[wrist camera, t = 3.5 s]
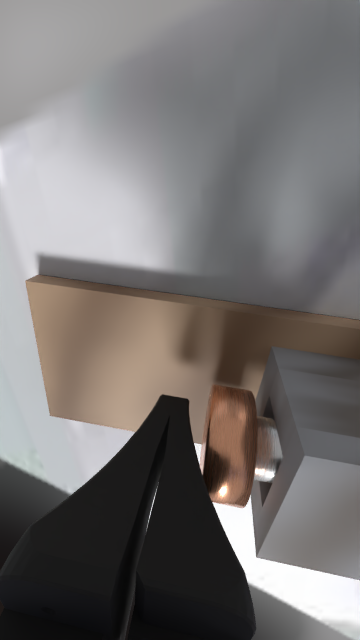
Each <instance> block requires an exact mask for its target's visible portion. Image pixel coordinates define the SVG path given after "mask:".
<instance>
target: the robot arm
mask: <svg viewBox="0 0 360 640" xmlns="http://www.w3.org/2000/svg"><path fill="white" fill-rule="evenodd" d="M189 402H190V401H189V400H188V399H187V398H181V397H175V396H170V395H164V394H162V395H160V397H159V399H158V401H157V402H156V404H155V406H154V407H153V409H152V410H151V412H150V413H149V415H148V416H147V418H146V419H145V420H144V422H143V423H142V425H141V426H140V427H139V429H138V430H137V431H136V432H135V433H134V435H133V436H132V437H131V438H130V439H129V441H128V442H127V443H126V444H125V445H124V446H123V448H122V449H121V450H120V451H119V452H118V453H117V454H116V455H115V456H114V457H113V458H112V459H111V460H110V461H109V462H108V463H107V464H106V465H105V466H104V467H103V468H102V469H101V470H100V471H99V472H98V473H97V474H96V475H94V476H93V477H92V478H91V479H90V480H89V481H88V482H87V483H85V484H84V485H83V486H82V487H80V488H79V489H78V490H77V491H76V492H74V493H73V494H72V495H71V496H69V497H68V498H67V499H66V500H65V501H63V502H62V503H61V504H59V505H58V506H57V507H55V508H54V509H52V510H51V511H49V512H48V513H47V514H45V515H44V516H42V517H41V518H40V519H38V520H37V521H35V522H34V523H33V524H31V526H30V527H29V528H28V529H27V531H26V532H25V533H24V534H23V536H22V537H21V539H20V540H19V542H18V543H17V545H16V546H15V547H14V549H13V550H12V552H11V553H10V555H9V557H8V559H7V560H6V562H5V564H4V566H3V567H2V569H1V571H0V600H1V602H2V604H3V605H4V607H5V608H4V610H3V612H2V614H1V616H0V640H124V639H125V634H126V629H127V624H128V619H129V613H130V608H131V603H132V598H133V593H134V588H135V583H136V588H135V606H134V611H133V615H132V620H131V625H130V630H129V634H128V640H251V639H252V637H253V636H254V634H255V631H256V623H255V616H254V615H255V614H254V608H253V603H252V599H251V595H250V590H249V587H248V583H247V579H246V575H245V572H244V570H243V568H242V566H241V564H240V562H239V560H238V558H237V556H236V554H235V552H234V550H233V548H232V546H231V544H230V542H229V540H228V538H227V536H226V533H225V531H224V529H223V527H222V525H221V522H220V520H219V518H218V515H217V513H216V510H215V508H214V505H213V503H212V501H211V498H210V495H209V493H208V490H207V487H206V484H205V481H204V478H203V475H202V472H201V469H200V465H199V462H198V458H197V454H196V450H195V446H194V441H193V436H192V431H191V424H190V415H189ZM158 482H159V483H158ZM157 486H158V487H157ZM156 489H157V491H156ZM155 493H156V495H155ZM154 496H155V499H154ZM153 499H154V503H153ZM152 503H153V507H152ZM151 507H152V511H151ZM150 511H151V515H150ZM149 515H150V519H149ZM148 520H149V523H148ZM147 525H148V527H147ZM146 530H147V531H146ZM145 534H146V535H145Z"/></svg>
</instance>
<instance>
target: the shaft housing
mask: <svg viewBox="0 0 360 640" xmlns="http://www.w3.org/2000/svg"><path fill="white" fill-rule="evenodd" d="M25 282H26V287H27V293H28V298H29V304H30V309H31V315H32V320H33V325H34V331H35V336H36V342H37V347H38V353H39V358H40V363H41V369H42V374H43V380H44V385H45V391H46V396H47V401H48V407H49V412H50V416H54V417H59V418H65V419H70V420H75V421H81V422H86V423H91V424H97V425H102V426H107V427H113V428H118V429H123V430H129V431H134V432H136V431H137V430H138V429H139V427H140V426H141V425H142V423H143V422H144V420H145V419H146V418H147V416H148V415H149V413H150V412H151V410H152V409H153V407H154V406H155V404H156V402H157V401H158V399H159V397H160V395H162V394H164V395H170V396H175V397H181V398H187V399H188V400H189V401H190V402H189V415H190V424H191V431H192V436H193V441H194V443H198V444H202V440H203V432H204V425H205V418H206V411H207V405H208V400H209V395H210V391H211V387H212V385H213V384H215V385H221V386H227V387H233V388H239V389H245V390H250V391H252V393H253V395H254V398H255V402H256V409H257V416H260V417H266V418H272V419H275V423H276V428H277V432H278V437H279V441H280V446H281V450H282V455H283V459H282V462H281V464H280V466H279V469H278V471H277V474H276V476H275V478H274V481H273V483H269V482H264V481H259V480H254V481H253V486H252V490H251V503H252V514H253V525H254V536H255V547H256V557H257V558H261V559H266V560H271V561H275V562H280V563H284V564H289V565H293V566H298V567H302V568H307V569H311V570H316V571H321V572H325V573H330V574H334V575H339V576H343V577H348V578H352V579H357V580H360V320H355V319H348V318H341V317H333V316H326V315H319V314H312V313H305V312H298V311H291V310H284V309H277V308H270V307H263V306H256V305H249V304H241V303H234V302H227V301H220V300H213V299H206V298H199V297H192V296H185V295H178V294H171V293H164V292H157V291H149V290H142V289H135V288H128V287H121V286H114V285H107V284H100V283H93V282H86V281H79V280H72V279H65V278H57V277H50V276H43V275H37V276H35V277H32V278H30V279H28V280H26V281H25Z"/></svg>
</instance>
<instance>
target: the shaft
mask: <svg viewBox="0 0 360 640" xmlns="http://www.w3.org/2000/svg"><path fill="white" fill-rule="evenodd" d="M282 459H283V455H282V450H281V446H280V441H279V437H278V432H277V428H276V423H275V419H272V418H266V417H260V416H257V409H256V402H255V398H254V395H253V393H252V391H250V390H245V389H239V388H233V387H227V386H221V385H215V384H213V385H212V387H211V391H210V395H209V400H208V405H207V411H206V418H205V425H204V432H203V440H202V448H201V458H200V469H201V472H202V475H203V478H204V481H205V484H206V487H207V490H208V493H209V495H210V498H211V501H212V502H214V503H219V504H224V505H229V506H234V507H239V508H244V507H245V506H246V504H247V502H248V500H249V497H250V494H251V490H252V486H253V481H254V480H259V481H264V482H269V483H273V481H274V478H275V476H276V474H277V471H278V469H279V466H280V464H281V462H282Z"/></svg>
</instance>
